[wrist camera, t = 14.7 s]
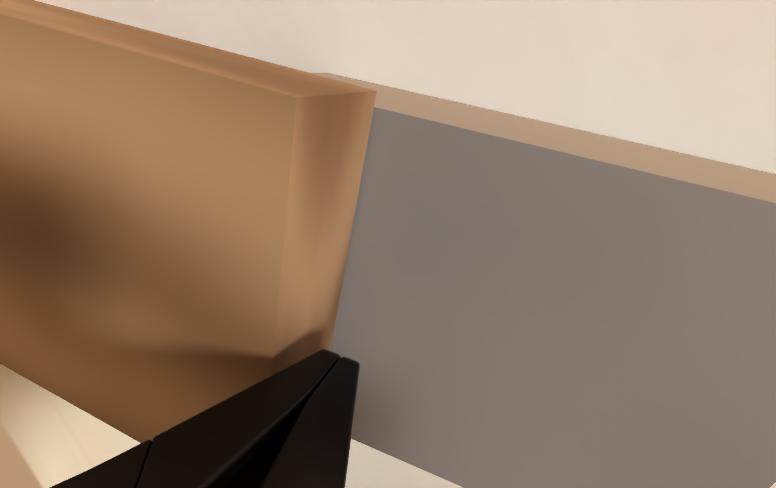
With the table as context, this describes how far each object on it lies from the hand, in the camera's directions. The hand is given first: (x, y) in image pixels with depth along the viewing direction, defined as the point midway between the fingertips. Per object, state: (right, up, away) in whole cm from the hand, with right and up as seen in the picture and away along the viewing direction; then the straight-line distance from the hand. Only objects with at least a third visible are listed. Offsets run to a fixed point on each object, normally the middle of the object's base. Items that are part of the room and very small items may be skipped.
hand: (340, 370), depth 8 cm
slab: (-8, +4, +4) cm, 9 cm away
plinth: (+5, +2, +6) cm, 8 cm away
